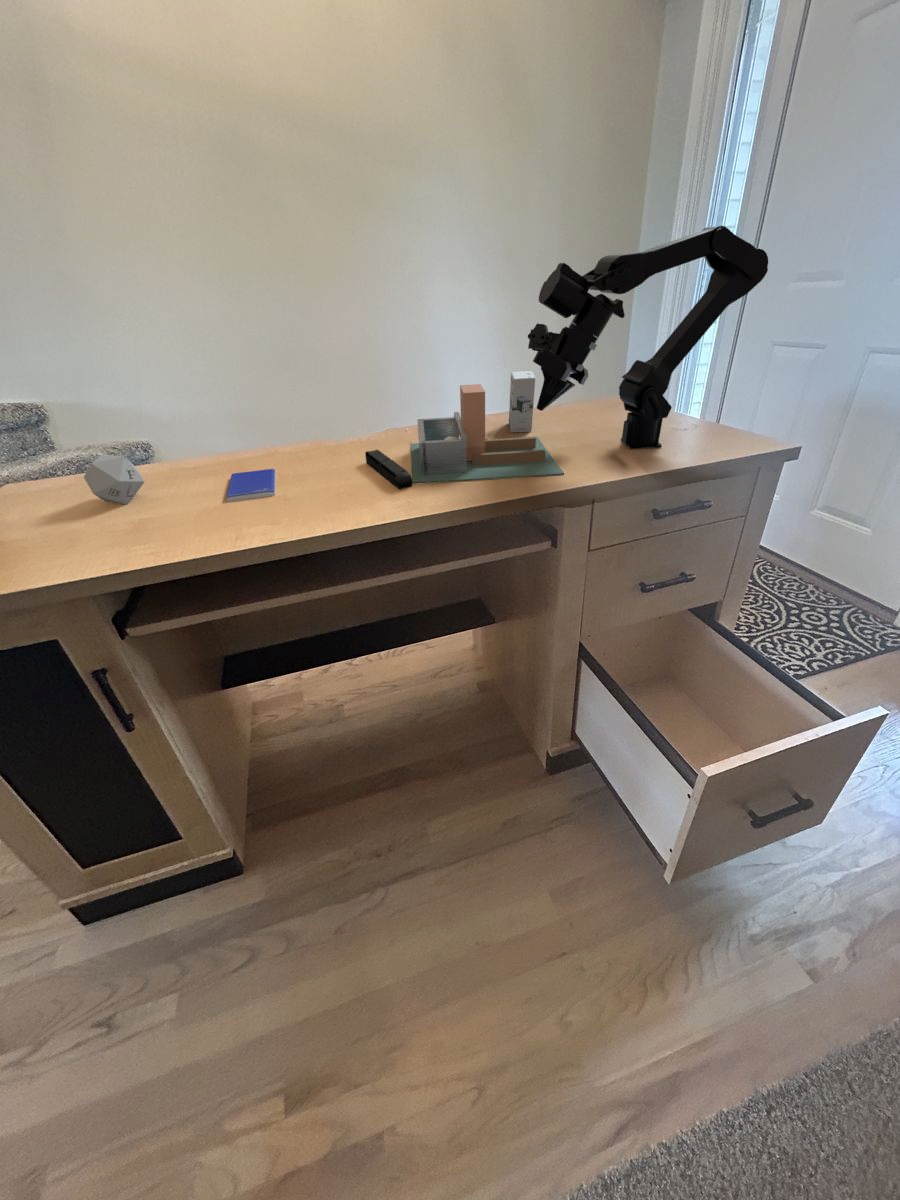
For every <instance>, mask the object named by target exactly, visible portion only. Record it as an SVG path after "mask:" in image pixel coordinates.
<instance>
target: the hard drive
mask: <svg viewBox="0 0 900 1200" xmlns="http://www.w3.org/2000/svg"><path fill="white" fill-rule="evenodd" d="M276 479H277V478H276V470H275V469H274V468H269V469H260V470H252V471H250V470H249V471H243V472H234V473H232V474H231V475H230V479H229V484H228V487H227V493H226V496H225V498H226V502H228V503H229V502H235V501H242V500H251V499H257V498H265V497H274V496H276Z"/></svg>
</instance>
